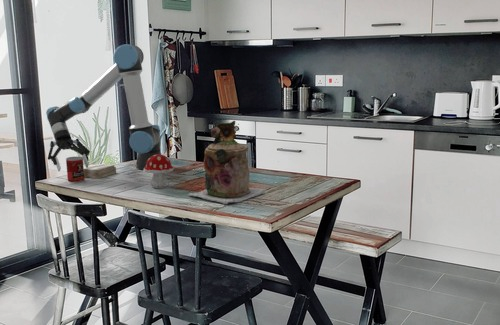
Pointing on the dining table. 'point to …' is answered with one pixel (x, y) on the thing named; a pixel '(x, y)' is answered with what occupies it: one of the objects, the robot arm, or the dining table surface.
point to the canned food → (75, 169)
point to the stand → (99, 170)
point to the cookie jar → (226, 168)
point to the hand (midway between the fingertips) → (73, 167)
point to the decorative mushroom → (158, 170)
